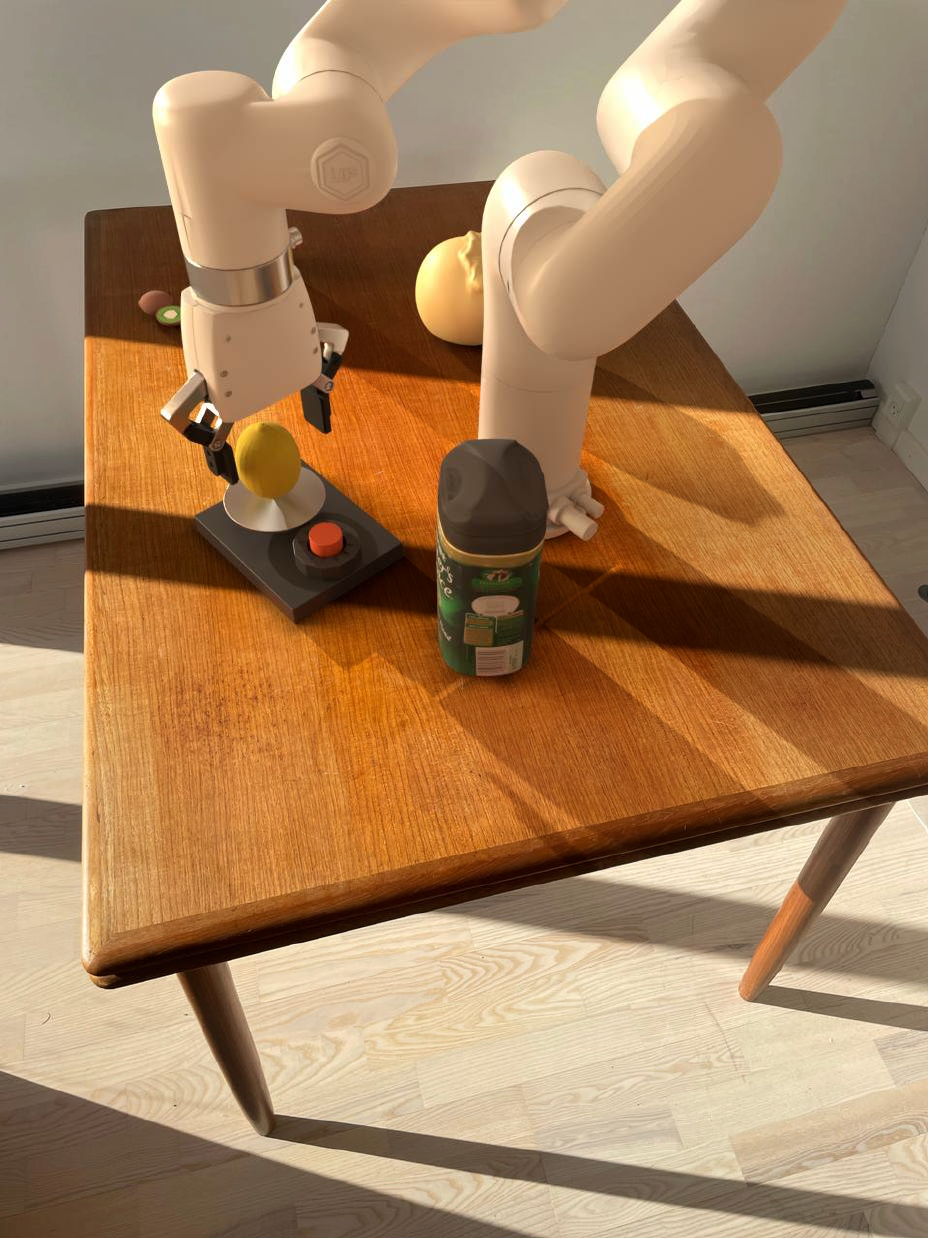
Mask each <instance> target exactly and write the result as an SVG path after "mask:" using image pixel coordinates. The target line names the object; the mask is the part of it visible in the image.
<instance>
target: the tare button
mask: <svg viewBox="0 0 928 1238" xmlns="http://www.w3.org/2000/svg"><path fill="white" fill-rule="evenodd" d="M309 540H310V547H311V551H312V552H313V553H314V554H315V555H316V556H318V557H322V558H329V557H334V556H336V555H338V554H339V553H340V552H341V551H342V549H343V538H342V531H341V529H340V528H339V527H338V526H337V525H335V524H333V523H320V524H317V525H315V526H314V527H313V528H312V529H311V530H310V532H309Z"/></svg>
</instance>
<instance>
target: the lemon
mask: <svg viewBox="0 0 928 1238" xmlns="http://www.w3.org/2000/svg"><path fill="white" fill-rule="evenodd" d="M234 458H235V462H236V467H237V471H238V475H239V477H240V479H241V481H242V483H243V484H244V486H245V487H246V488H247V489H248V490H249V491H250V492H252V493H253V494H255V495H257V496H259V497H262V498H268V499H273V498H278V497H282V496H283V495H285V494H287V493H288V492H290V491H291V490H292V489H293V488H294V486H295V485H296V483H297V482H298V479H299V476H300V472H301V459H302V458H301V453H300V448H299V446H298V444H297V442H296V440H295V438H294V436H293V435H292V433H291V432H290V431H289V430H288V429H287V428H286V427H285V426H283V425H281V424H279V423H277V422H273V421H269V420H262V421H257V422H253V423H251V424H250V425H249V426H247V427H246V428H245V429H244V430H243V431H242V432H241V433H240V435H239V437H238V439H237V441H236V446H235V451H234Z"/></svg>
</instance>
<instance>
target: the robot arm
mask: <svg viewBox="0 0 928 1238" xmlns="http://www.w3.org/2000/svg"><path fill="white" fill-rule="evenodd" d="M848 1H849V0H680V1H679V2H678V3H677V4H676V6H675V7H674V8H673V9H672V10H671V11H670V12H669V13H668V15H666V17H665V18H664V19H663V20H662V21H661V22H660V23H659V24H658V25H657V26H656V28H654V30H653V31H652V32H651V33H650V34H649V35H648V36H647V37H646V38H645V39H644V40H643V42H641V44H640V45H638V47H637V48H636V49H635V50H634V51H633V52H632V53H631V54H630V56H628V58H627V59H626V60H625V61H624V62H623V64H621V66H620V67H619V68H618V69H617V70H616V71H615V72H614V74H613V75H612V76H611V78H610V79H609V80H608V82H607V83H606V85H605V87H604V89H603V91H602V92H601V95H600V97H599V100H598V104H597V108H596V129H597V133H598V137H599V140H600V142H601V145H602V148H603V150H604V152H605V154H606V156H607V158H608V160H609V161H610V163H611V165H612V167H613V168H614V170H615V172H616V173H617V174H618V178H617V179H616V180H615V182H613V184H612V185H610V187H609V188H607V186H605V184H604V182H603V181H602V180H601V178H600V177H599V175H598V174H597V173H596V172H595V171H594V170H593V169H592V168H591V167H590V166H588V164H586V163H585V162H584V161H582V160H581V159H579V158H578V157H576V156H574V155H572V154H570V153H567V152H564V151H559V150H553V149H552V150H551V149H550V150H549V149H548V150H547V149H545V150H544V149H543V150H538V151H534V152H530V153H527V154H525V155H523V156H520V157H519V158H517V159H516V160H515V161H512V163H510V164H509V165H508V166H507V167H505V169H504V170H503V171H502V172H501V173H500V175H499V176H498V177H497V179H496V180H495V182H494V183H493V185H492V187H491V189H490V191H489V194H488V196H487V199H486V202H485V206H484V210H483V214H482V222H481V232H482V263H483V284H484V332H483V344H482V352H481V353H482V355H481V373H480V395H479V397H480V398H479V414H478V432H477V435H478V436H477V439H513V440H516V441H517V442H518V443H519V444H521V445H523V446H524V447H526V448H527V449H528V450H529V451H530V452H531V453H532V454H533V455H534V456H535V457H536V458H537V460H538V462H539V464H540V467H541V470H542V472H543V473H544V478H545V485H546V491H547V497H548V503H549V508H548V510H547V528H546V535H545V540H550V539H553V538H556V537H559V536H561V535H564V534H566V533H568V532H572V533H573V534H574V535H576V536H577V537H579V538H580V539H581V540H583V541H584V542H587V541H589V540H591V539H592V538H593V537H594V535H595V534H596V532H597V530H598V527H599V524H598V523H597V522H596V521H594V520H593V519H592V518H590V517H589V516H591V517H593V518H594V519H599V518H600V517H601V516H602V515H603V513H604V511H605V505H603V504H602V503H600V502H599V501H597V500H596V499H595V498H592V485H591V482H590V479H589V478H588V476H589V473H588V472H587V471H585V470H583V469H582V468H581V466H580V465H581V458H582V453H583V446H584V441H585V433H586V426H587V421H588V414H589V407H590V402H591V394H592V389H593V382H594V375H595V369H596V367H597V359H598V357H601V356H603V355H606V354H609V352H611V351H613V350H615V349H616V348H618V347H620V346H621V345H623V344H624V343H626V342H627V341H629V340H630V339H631V338H633V337H634V336H635V335H637V334H638V333H639V332H640V331H641V330H642V329H644V328H645V327H646V326H648V324H650V322H652V321H653V320H654V319H655V318H656V317H657V316H658V315H659V314H660V313H662V312H663V311H664V310H665V309H666V308H667V307H668V306H669V305H671V304H672V303H673V302H674V301H675V300H676V299H677V298H678V297H680V296H681V294H683V293H684V292H685V291H686V290H687V289H688V288H689V287H691V286H692V284H694V283H695V282H696V281H697V280H698V279H699V278H700V277H701V276H702V275H703V274H705V273H706V272H707V271H708V270H709V269H710V268H711V267H712V266H713V265H715V263H717V262H718V261H719V260H720V259H722V258H723V256H724V255H725V254H726V253H727V252H729V251H730V249H732V248H733V247H734V246H735V245H737V243H738V242H739V241H740V240H741V239H742V238H743V237H744V236H745V235H746V234H747V232H748V231H749V230H750V229H751V228H752V227H753V226H754V225H755V224H756V222H757V220H758V219H759V218H760V216H761V215H762V213H763V212H764V210H765V209H766V207H767V205H768V204H769V202H770V200H771V198H772V196H773V194H774V192H775V189H776V187H777V185H778V182H779V178H780V176H781V171H782V166H783V157H784V154H783V153H784V152H783V151H784V149H783V140H782V134H781V130H780V127H779V125H778V123H777V121H776V119H775V117H774V114H773V112H772V111H771V109H770V108H769V107H768V106H767V104H766V101H767V100H768V99H769V98H771V96H772V95H773V94H774V93H775V92H776V91H777V90H778V88H780V86H781V85H782V84H783V83H784V82H785V81H786V80H787V79H788V78H789V77H790V76H791V75H792V74H793V73H794V71H796V70H797V68H798V67H799V66H800V65H801V64H802V63H803V62H804V60H806V59H807V57H808V56H809V55H810V54H811V53H813V51H814V50H815V49H816V48H817V47H818V46H819V44H820V43H821V42H822V41H823V40H824V39H825V37H826V36H827V35H828V33H829V32H830V30H832V28H833V27H834V25H835V23H836V22H837V21H838V19H839V18H840V16H841V15H842V12H843V11H844V9H845V7H846V5H847V3H848ZM569 2H570V0H326V1H325V3H324V4H323V5H322V6H321V7H320V8H319V10H318V11H316V13H315V14H314V15H313V16H312V17H311V18H310V19H309V21H307V23H306V24H305V25H304V26H303V27H302V28H301V30H300V31H299V32H298V33H297V35H296V36H295V37H293V39H292V41H291V42H290V43H289V45H288V47H287V48H286V49H285V51H284V53H282V54H283V55H282V56H281V58H280V60H279V62H278V64H277V67H276V69H275V72H274V77H273V79H272V87H271V90H272V91H271V95H272V97H270V96H269V95H268V93H266V91H265V90H264V88H263V87H262V86H261V85H260V84H259V82H257V81H255V80H254V79H253V78H251V77H249V76H247V75H245V74H243V73H238V72H235V71H229V70H216V69H215V70H214V69H213V70H200V71H194V72H189V73H185V74H182V75H180V76H179V75H178V76H176V77H174V78H172V79H171V80H168V81H167V82H166V83H164V84H163V85H162V86H161V87H160V88H159V89H158V91H157V92H156V94H155V97H154V99H153V103H152V120H153V126H154V131H155V136H156V140H157V144H158V149H159V152H160V153H159V154H160V157H161V162H162V167H163V170H164V175H165V180H166V184H167V187H168V189H167V190H168V193H169V198H170V202H171V206H172V210H173V214H174V218H175V223H176V228H177V232H178V237H179V242H180V246H181V250H182V255H183V256H182V257H183V259H184V264H185V268H186V269H185V270H186V272H187V273H186V274H187V278H188V281H189V286H188V287H186V288H184V289H183V290H182V291H181V296H180V307H181V324H180V330H181V341H182V348H183V349H182V350H183V356H184V362H185V363H184V364H185V369H186V375H187V380H186V381H185V383H184V384H183V385H182V386H181V387H180V389H179V390H178V391H177V392H176V393H175V394H174V395H173V396H172V398H171V399H170V400H169V401H168V402H167V403H166V404H165V405H164V407H163V408H162V409H161V410H160V417H161V419H163V420H164V421H165V422H166V423H168V424H169V425H170V426H171V427H172V428H174V429H175V430H176V431H177V432H178V433H179V434H181V435H182V436H183V437H184V438H185V439H186V440H188V441H189V442H191V443H194V444H197V445H201V446H202V450H203V453H204V457H205V461H206V465H207V467H208V469H209V471H210V472H211V473H212V475H214V476H215V477H221V478H222V479H224V480H225V481H226V482H227V483H228V485H229V484H231V485H232V486H233V485H235V484H237V483H238V481H239V476H238V471H237V467H236V462H235V452H234V449H233V447H232V445H231V444H230V443H229V442H227V440H228V437H229V435H230V433H231V431H232V429H233V427H234V424H235V423H236V422H240V421H242V420H245V419H247V418H249V417H251V416H254V415H255V414H257V413H259V412H261V411H263V410H266V409H268V408H269V407H271V406H273V405H275V404H277V403H278V402H281V401H282V400H284V399H286V398H288V397H290V396H292V395H294V394H295V393H298V392H299V393H300V399H301V407H302V414H303V419H304V421H306V422H307V423H309V424H310V426H313V427H314V428H315V429H316V430H317V431H318V432H320V433H322V434H323V435H327V434H329V433H332V431H333V430H332V420H331V416H332V407H331V399H330V398H331V397H330V393H331V392H332V391H333V390H334V388H335V385H336V384H335V381H334V379H335V377H336V375H337V373H338V371H339V370H340V369H341V367H342V365H343V362H344V358H343V353H345V349H346V346H347V342H348V339H349V337H350V336H349V335H350V332H349V330H348V329H346V328H345V327H343V326H342V325H340V324H338V323H331V322H321V321H320V322H318V321H316V317H315V313H314V309H313V306H312V302H311V299H310V296H309V293H308V290H307V287H306V285H305V281H304V279H303V277H302V274H301V271H300V269H299V268H298V267H297V266H296V265H295V262H294V255H293V254H294V253H293V251H295V249H296V247H298V246H301V245H302V244H303V242H304V241H303V236H302V233H301V231H300V230H299V228H298V227H296V226H292V227H290V228H289V226H288V217H287V211H286V210H295V211H301V212H307V213H308V212H309V213H317V214H326V215H328V214H329V215H349V214H356V213H360V212H362V211H366V210H368V209H370V208H373V207H374V206H376V205H377V204H378V203H380V202H381V201H383V200H384V198H385V197H386V196H387V195H388V194H389V192H390V191H391V189H392V187H393V185H394V183H395V181H396V178H397V175H398V169H399V149H398V144H397V139H396V135H395V132H394V129H393V126H392V122H391V120H390V117H389V113H388V110H387V106H386V104H387V103H388V102H389V100H390V99H391V98H392V97H393V96H394V95H395V94H396V93H397V92H398V91H399V90H400V89H401V88H402V87H403V86H404V85H405V84H406V83H407V82H408V81H409V80H410V79H411V78H412V77H413V76H414V75H415V74H416V73H417V72H418V71H419V70H421V68H423V67H424V66H425V65H426V64H427V63H428V62H430V61H431V60H432V59H433V58H434V57H437V56H438V55H439V54H440V53H442V52H443V51H445V50H447V49H448V48H451V47H452V46H454V45H456V44H457V43H460V42H463V41H465V40H468V39H470V38H473V37H477V36H483V35H494V34H495V35H498V34H500V35H503V34H504V35H505V34H507V35H508V34H518V33H523V32H529V31H533V30H536V29H539V28H541V27H543V26H544V25H545V24H547V23H548V22H549V21H550V20H552V18H553V17H555V16H556V15H557V14H558V13H559V12H560V11H561V10H562V8H564V7H565V5H567V4H568V3H569ZM321 343H324V345H323V346H324V347H322V348H321ZM201 403H202V406H201V408H200V410H199V413H198V415H197V416H196V419H195V420H192V419H190V415H191V413H192V412H193V411H194V410H195V409H196V408H197V406H199V404H201ZM216 417H218V418H217V420H216V422H215V425H214V427H212V425H213V423H214V421H215V418H216ZM587 514H588V515H589V516H587Z"/></svg>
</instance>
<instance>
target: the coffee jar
mask: <svg viewBox="0 0 928 1238" xmlns="http://www.w3.org/2000/svg"><path fill="white" fill-rule="evenodd" d="M436 497H437V499H436V500H437V501H436V505H437V506H436V538H435V539H436V541H435V544H436V545H435V548H436V549H435V551H436V557H435V558H436V593H437V594H436V607H437V608H436V613H437V614H436V615H437V635H438V643H439V648H440V649H439V650H440V653H441V657H442V659H443V661H444V663H445V664H446V665H447V666H448V667H449V668H450V669H451V670H453V671H454V672H456V673H458V674H460V675H463V676H468V677H475V678H497V677H504V676H507V675H511V674H514V673H517V672H519V671H520V670H522V669H523V668H524V667H525V666H526V665H527V664H528V662H529V660H530V658H531V653H532V648H533V639H534V631H535V629H534V628H535V619H536V618H535V617H536V607H537V599H538V592H539V582H540V571H541V564H542V557H543V556H542V555H543V549H544V544H545V541H546V539H545V535H546V528H547V510H548V508H549V503H548V497H547V491H546V485H545V478H544V473H543V472H542V470H541V467H540V464H539V462H538V460H537V458H536V457H535V456H534V455H533V454H532V453H531V452H530V451H529V450H528V449H527V448H526V447H524V446H523V445H521V444H519V443H518V442H517V441H516V440H513V439H478V438H477V439H476V438H474V439H465V440H462V441H461V442H460V443H459V444H458V445H456V446H454V447H453V448H451V450H450V451H448V453H447V454H446V455H445V456H444V457H443V459H442V461H441V463H440V465H439V472H438V486H437V495H436Z"/></svg>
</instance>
